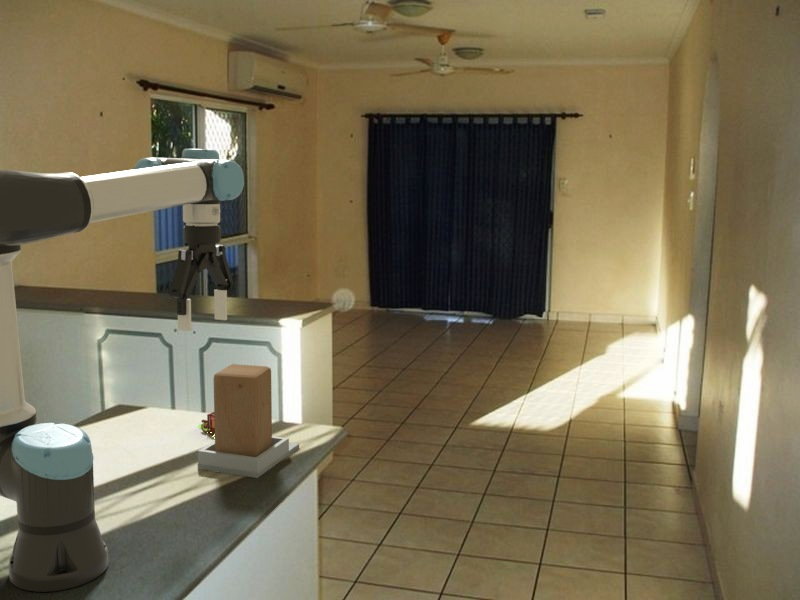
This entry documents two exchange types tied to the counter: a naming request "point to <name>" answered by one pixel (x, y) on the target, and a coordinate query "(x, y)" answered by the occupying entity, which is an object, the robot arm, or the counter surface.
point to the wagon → (208, 425)
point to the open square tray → (245, 459)
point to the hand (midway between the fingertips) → (203, 324)
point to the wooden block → (243, 410)
